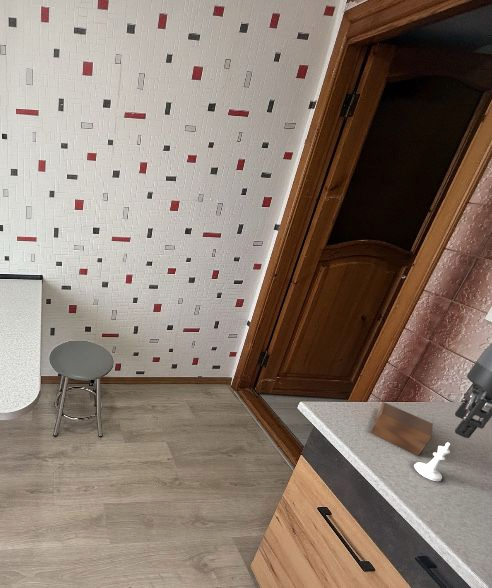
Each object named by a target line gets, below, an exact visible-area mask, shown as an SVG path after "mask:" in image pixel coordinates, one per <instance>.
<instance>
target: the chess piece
mask: <svg viewBox="0 0 492 588" xmlns="http://www.w3.org/2000/svg"><path fill="white" fill-rule="evenodd" d="M450 445H451V442H448V441H447V442H445V445H438V446H437V452H436V451H435V452H433V453H432V455H433V456H434V457H433V458H432V459H431V460H430V461H429V462H428V463H426V462H421V461H417V462H416V463H414V465H413V467H414V469H415V470H416V471H417V472H418V474H419V475H421V476H422V477H424V478H426V479H428V480H430V481H433V482H441V481H442V479H443V475H442V473H441V472H440V471H439V470H438V469H437V468H438V465H439V464H440V462H441V461H445V460H446V457H445V456H446V455H448V454H450V453H451V451H450V449H449V447H450Z"/></svg>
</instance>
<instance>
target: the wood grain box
mask: <svg viewBox="0 0 492 588" xmlns="http://www.w3.org/2000/svg"><path fill="white" fill-rule="evenodd" d="M433 427H434V423H432V422H430V421H428V420H426V419H423V418H421V417H419V416H416V415H414V414H412V413H410V412H407V411H405V410H403V409H401V408H399V407H396V406H394V405H392V404H389V403H387V402H384V401H382V402H381V404H380V406H379V408H378V409H377V411H376V414H375V417H374V420H373V423H372V426H371V429H370V431H369V432H370V434H372V435H375V436H376V437H377V438H380V439H382V440H384V441H387V442H389V443H391V444H393V445H395V446H396V447H398V448H400V449H403V450H404V451H407V452H408V453H410V454H412V455H415V456H417V457H419V455H420V454H421V452H422V451H423V450H424V448H425V447H426V445H427V444H428V443H429V442H430V440H431V438H432V437H433Z"/></svg>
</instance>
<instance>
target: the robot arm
mask: <svg viewBox="0 0 492 588" xmlns="http://www.w3.org/2000/svg"><path fill="white" fill-rule="evenodd" d="M466 378H467V379H468V381H469V382H471V385H470V386H469V388H467V390H466V391H465V392H464V394H463V398H462V403H461V404H460V405H459V407H458V408H457V410H456V411H455V412H454V415H455V417H457V418H458V419H462V420H461V421H460V423H459V424H458V425H457V427H456V428H455V429H454V433H455V434H456V435H458V436H459V437H463V438H465V439H470V437H471V436H472V435H473V434H474V432H475V431H476V430H477V428H478V429H481V430H482V429H484V428H485V427H486V425H487V423H488V422H489V421H490V419H491V418H492V342H491V343H490V344H489V345H488V346H487V347H486V348H485V349H484V350H483V352H482V353H481V354H480V356H479V357H478V359H477V360H476V361H475V363H474V364H473V366H472V367H471V368H470V370H469V371H468V373H467V374H466ZM474 416H476V417H479V418H478V419H476V418H474Z"/></svg>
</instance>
